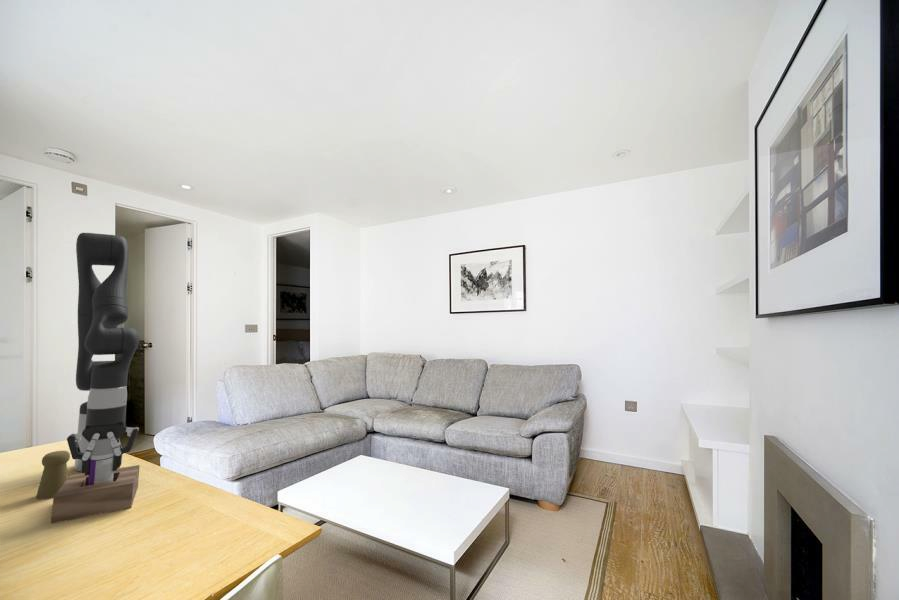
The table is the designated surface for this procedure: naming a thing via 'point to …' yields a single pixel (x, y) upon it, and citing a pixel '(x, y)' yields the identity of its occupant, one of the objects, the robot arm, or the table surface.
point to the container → (101, 462)
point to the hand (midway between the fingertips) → (101, 471)
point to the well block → (95, 495)
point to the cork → (53, 474)
